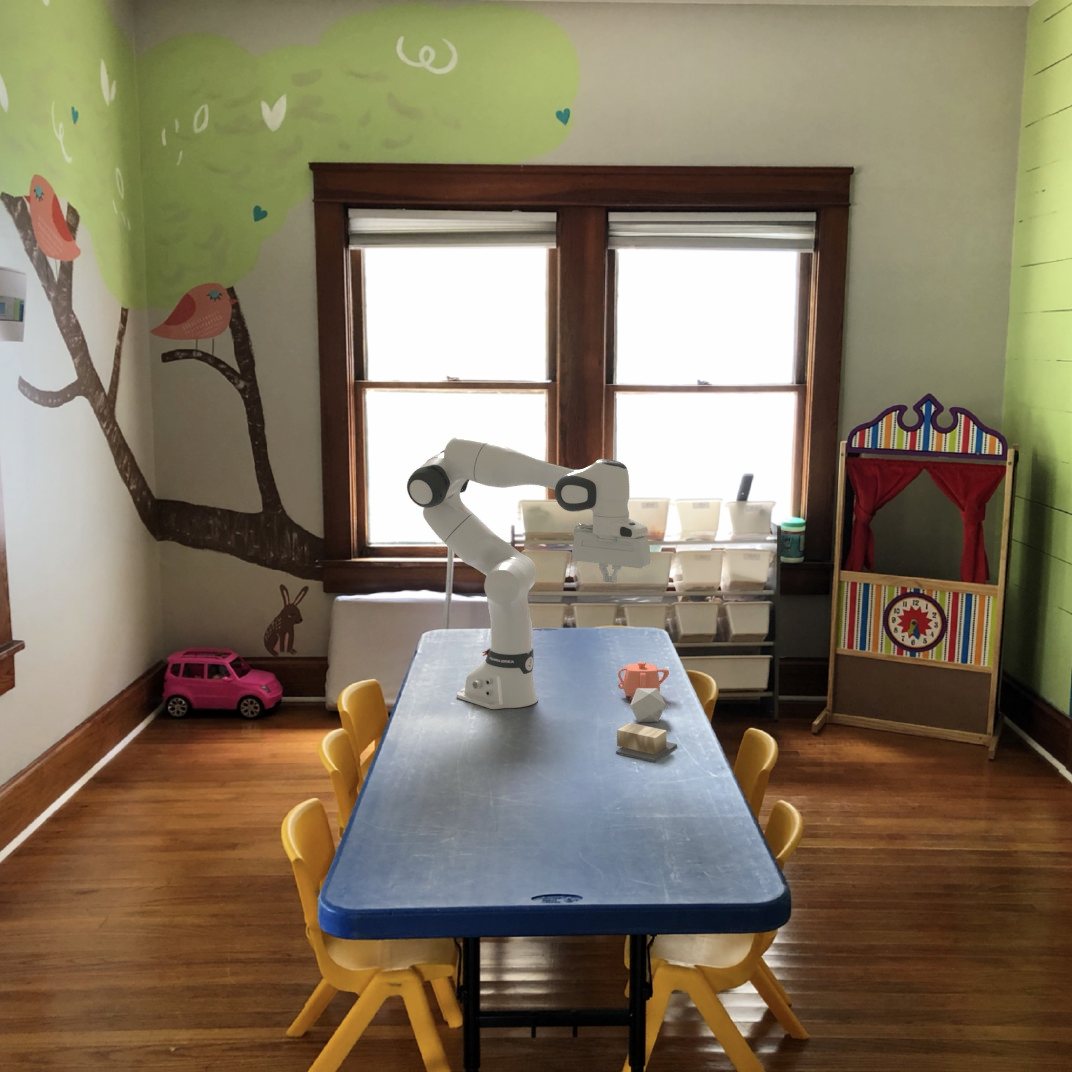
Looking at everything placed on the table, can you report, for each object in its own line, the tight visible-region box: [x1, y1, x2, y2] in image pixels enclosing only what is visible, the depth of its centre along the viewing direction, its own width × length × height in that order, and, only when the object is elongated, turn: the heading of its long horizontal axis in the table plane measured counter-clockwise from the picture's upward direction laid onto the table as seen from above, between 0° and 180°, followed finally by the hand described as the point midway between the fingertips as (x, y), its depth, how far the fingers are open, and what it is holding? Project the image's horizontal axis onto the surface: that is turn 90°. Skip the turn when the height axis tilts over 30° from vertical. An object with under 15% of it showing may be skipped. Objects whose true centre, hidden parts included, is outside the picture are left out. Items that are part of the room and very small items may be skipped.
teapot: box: [617, 661, 670, 701], centre depth 287 cm, size 12×12×10 cm
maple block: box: [616, 722, 668, 754], centre depth 248 cm, size 4×6×10 cm
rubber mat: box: [615, 741, 678, 763], centre depth 248 cm, size 10×12×1 cm
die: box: [629, 688, 667, 723], centre depth 268 cm, size 8×9×10 cm
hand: (610, 582), depth 258 cm, fingers closed
